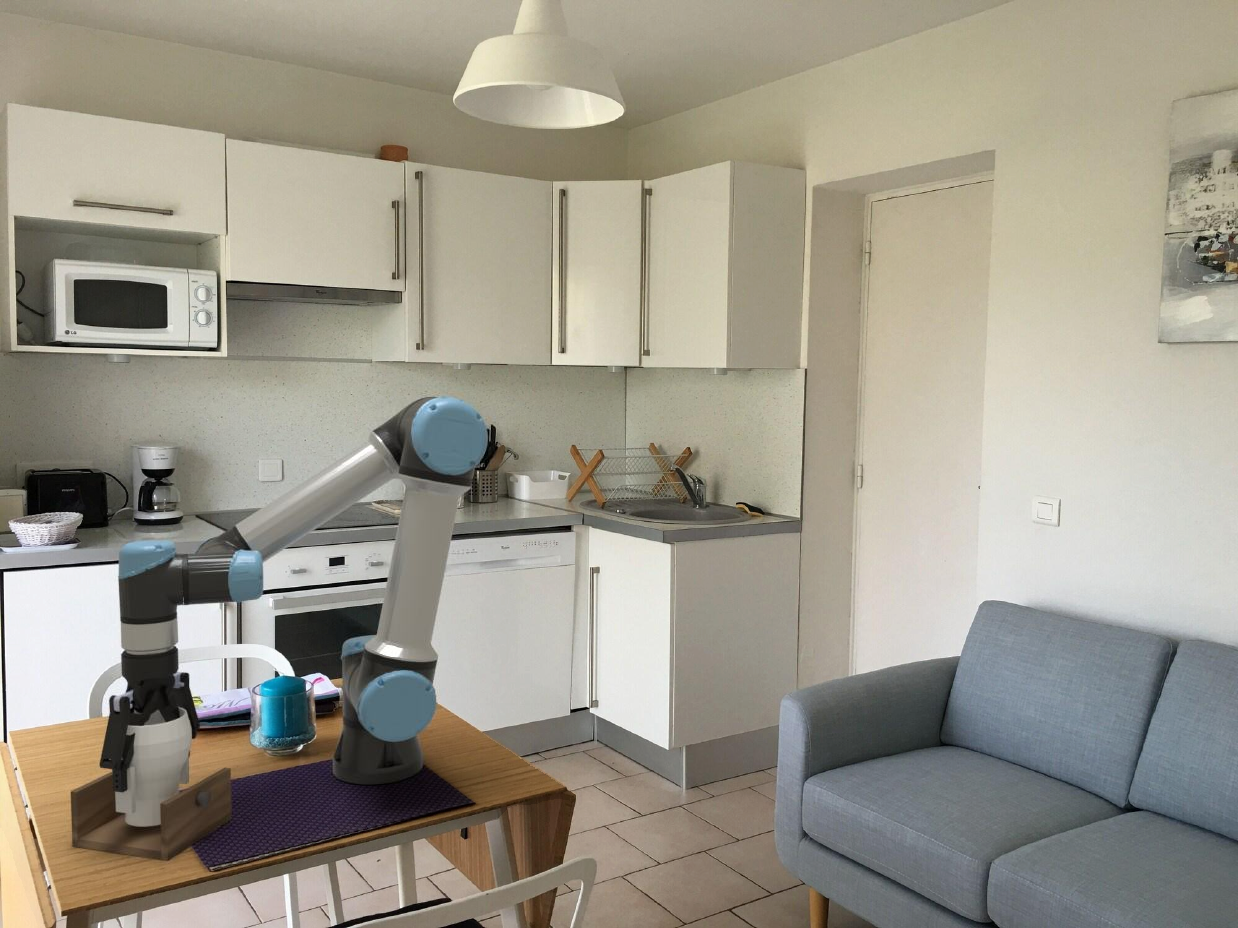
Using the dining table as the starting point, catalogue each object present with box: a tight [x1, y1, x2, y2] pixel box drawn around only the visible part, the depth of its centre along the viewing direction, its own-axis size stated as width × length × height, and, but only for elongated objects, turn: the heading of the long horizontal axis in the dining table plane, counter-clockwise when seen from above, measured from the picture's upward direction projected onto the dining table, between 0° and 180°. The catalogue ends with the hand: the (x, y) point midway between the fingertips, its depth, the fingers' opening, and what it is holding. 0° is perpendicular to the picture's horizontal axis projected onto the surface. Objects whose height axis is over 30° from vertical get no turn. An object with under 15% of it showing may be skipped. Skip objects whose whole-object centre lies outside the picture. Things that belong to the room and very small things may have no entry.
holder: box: [70, 767, 233, 862], centre depth 149 cm, size 18×14×8 cm
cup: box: [121, 707, 193, 827], centre depth 149 cm, size 11×11×15 cm
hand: (154, 796), depth 149 cm, fingers closed on cup, 11 cm apart
